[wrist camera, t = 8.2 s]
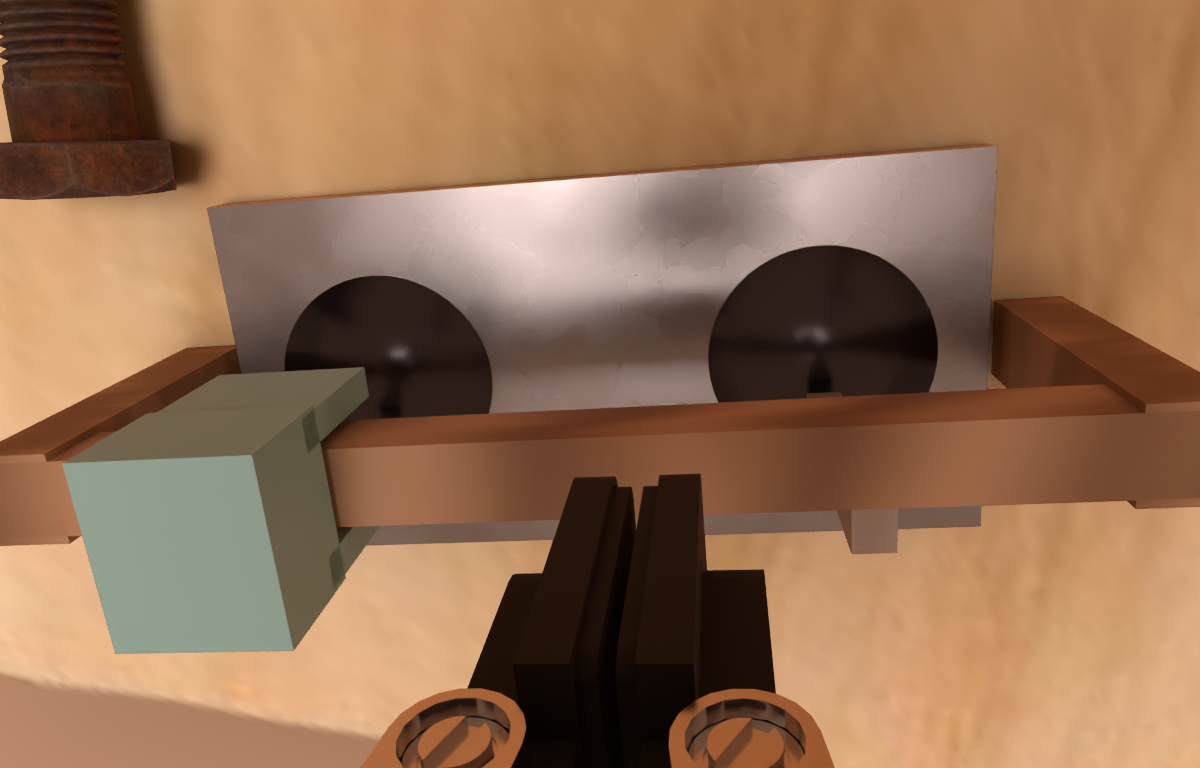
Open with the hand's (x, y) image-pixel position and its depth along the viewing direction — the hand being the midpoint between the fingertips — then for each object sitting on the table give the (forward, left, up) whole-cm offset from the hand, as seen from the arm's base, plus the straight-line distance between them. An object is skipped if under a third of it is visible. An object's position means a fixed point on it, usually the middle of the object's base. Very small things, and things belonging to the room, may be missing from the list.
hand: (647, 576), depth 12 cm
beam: (+3, +2, -18) cm, 19 cm away
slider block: (+10, +2, -17) cm, 19 cm away
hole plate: (+3, +2, -18) cm, 19 cm away
